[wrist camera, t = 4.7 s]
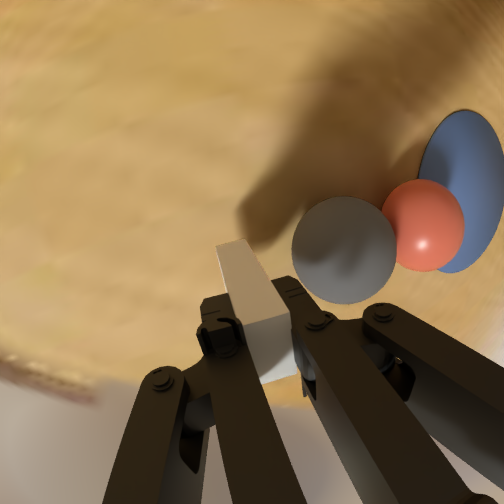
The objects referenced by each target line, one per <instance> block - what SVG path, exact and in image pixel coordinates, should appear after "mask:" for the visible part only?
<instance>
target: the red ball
mask: <svg viewBox="0 0 504 504" xmlns="http://www.w3.org/2000/svg"><path fill="white" fill-rule="evenodd" d="M381 212H382V213H383V214H384V216H385V217H386V218H387V220H388V221H389V223H390V224H391V227H392V229H393V231H394V234H395V238H396V244H397V257H396V262H398V263H399V264H400V265H402V266H403V267H405V268H408V269H410V270H413V271H419V272H427V271H433V270H436V269H439V268H441V267H443V266H444V265H446V264H447V263H448V262H450V261H451V260H452V259H453V258H454V256H455V255H456V254H457V252H458V251H459V249H460V247H461V244H462V241H463V238H464V231H465V222H464V216H463V212H462V209H461V206H460V204H459V202H458V201H457V199H456V198H455V196H454V195H453V194H452V193H451V192H450V191H449V190H448V189H447V188H446V187H444V186H443V185H441V184H439V183H437V182H434V181H431V180H427V179H415V180H410V181H407V182H405V183H403V184H401V185H399V186H398V187H397V188H395V189H394V190H393V191H392V192H391V193H390V194H389V196H388V197H387V199H386V201H385V202H384V205H383V207H382V210H381Z"/></svg>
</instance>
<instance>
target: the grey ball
mask: <svg viewBox="0 0 504 504" xmlns="http://www.w3.org/2000/svg"><path fill="white" fill-rule="evenodd" d="M396 257H397V244H396V238H395V234H394V231H393V229H392V227H391V224H390V223H389V221H388V220H387V218H386V217H385V216H384V214H383V213H382V212H381V211H380V210H379V209H378V208H376V207H375V206H374V205H372V204H371V203H369V202H367V201H365V200H362V199H359V198H355V197H349V196H339V197H333V198H329V199H326V200H324V201H322V202H320V203H318V204H316V205H315V206H313V207H312V208H311V209H310V210H309V211H308V212H307V213H306V214H305V215H304V216H303V217H302V219H301V220H300V222H299V223H298V225H297V228H296V230H295V232H294V236H293V240H292V260H293V265H294V268H295V271H296V273H297V275H298V277H299V279H300V280H301V282H302V283H303V284H304V286H305V287H306V288H307V289H308V290H309V291H310V292H312V293H313V294H314V295H316V296H317V297H319V298H321V299H323V300H325V301H328V302H331V303H335V304H353V303H357V302H361V301H364V300H366V299H368V298H370V297H371V296H373V295H374V294H376V293H377V292H378V291H379V290H380V289H382V287H383V286H384V285H385V284H386V282H387V281H388V279H389V278H390V276H391V274H392V272H393V269H394V266H395V263H396Z"/></svg>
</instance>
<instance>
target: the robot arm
mask: <svg viewBox="0 0 504 504" xmlns="http://www.w3.org/2000/svg"><path fill="white" fill-rule="evenodd" d="M215 249H216V253H217V257H218V261H219V265H220V269H221V273H222V277H223V281H224V285H225V289H226V293H225V294H221V295H217V296H213V297H209V298H205V299H204V300H203V302H202V304H201V306H200V311H201V319H202V324H201V325H200V326H199V327H198V329H197V333H196V336H197V338H198V341H199V344H200V346H201V349H202V352H203V354H204V356H203V357H202V358H201V360H200V361H199V362H198V363H196V364H195V365H193V366H192V367H190V368H188V369H186V370H184V371H182V372H181V370H180V369H178V368H176V367H172V366H164V367H159V368H157V369H155V370H152V371H151V372H150V373H149V374H147V375H146V376H145V378H144V379H143V381H142V383H141V386H140V389H139V391H138V394H137V397H136V400H135V403H134V405H133V408H132V411H131V414H130V417H129V420H128V423H127V426H126V428H125V431H124V434H123V437H122V441H121V444H120V446H119V450H118V453H117V456H116V459H115V462H114V465H113V468H112V472H111V475H110V479H109V482H108V485H107V489H106V492H105V496H104V499H103V503H102V504H201V498H202V489H203V481H204V472H205V464H206V456H207V448H208V440H209V432H210V427H212V426H214V425H215V424H216V429H217V434H218V439H219V444H220V449H221V454H222V459H223V464H224V468H225V473H226V477H227V481H228V486H229V490H230V494H231V498H232V502H233V504H307V502H306V499H305V497H304V495H303V492H302V490H301V487H300V485H299V482H298V480H297V477H296V475H295V472H294V470H293V467H292V465H291V462H290V460H289V457H288V454H287V452H286V449H285V447H284V444H283V441H282V439H281V436H280V433H279V431H278V428H277V426H276V423H275V420H274V418H273V415H272V412H271V409H270V407H269V404H268V401H267V398H266V396H265V393H264V390H263V387H262V385H261V384H264V383H268V382H271V381H275V380H278V379H281V378H284V377H288V376H291V375H294V374H297V367H298V368H299V370H300V372H301V380H302V390H303V397H306V396H307V394H308V396H309V398H310V400H311V402H312V404H313V406H314V408H315V410H316V412H317V414H318V416H319V418H320V420H321V422H322V424H323V426H324V428H325V430H326V432H327V434H328V436H329V438H330V440H331V442H332V444H333V446H334V448H335V450H336V452H337V454H338V456H339V458H340V460H341V462H342V464H343V466H344V468H345V470H346V471H347V473H348V475H349V477H350V479H351V481H352V483H353V485H354V487H355V489H356V491H357V493H358V495H359V497H360V499H361V500H362V502H363V504H498V503H497V502H496V501H495V500H494V499H493V498H491V497H489V496H487V495H484V494H476V493H474V492H472V491H471V490H470V489H469V488H468V487H467V486H466V484H465V483H464V482H463V480H462V479H461V477H460V476H459V475H458V473H457V472H456V471H455V469H454V468H453V467H452V465H451V464H450V462H449V461H448V460H447V458H446V457H445V456H444V454H443V453H442V452H441V450H440V449H439V447H438V446H437V445H436V444H435V442H434V441H433V439H432V438H431V437H430V435H431V436H432V437H433V438H435V439H436V440H437V441H438V442H440V443H441V444H442V445H444V446H445V447H446V448H447V449H449V450H450V451H451V452H453V453H454V454H455V455H456V456H458V457H459V458H461V459H462V460H463V461H464V462H466V463H467V464H468V465H470V466H471V467H472V468H474V469H475V470H476V471H478V472H479V473H480V474H482V475H483V476H484V477H486V478H487V479H489V480H490V481H491V482H493V483H494V484H496V485H497V486H498V487H500V488H501V489H502V490H504V368H503V367H501V366H500V365H498V364H496V363H495V362H493V361H491V360H490V359H488V358H486V357H485V356H483V355H481V354H480V353H478V352H476V351H474V350H473V349H471V348H469V347H468V346H466V345H464V344H462V343H461V342H459V341H457V340H456V339H454V338H452V337H450V336H449V335H447V334H445V333H443V332H442V331H440V330H438V329H436V328H435V327H433V326H431V325H429V324H428V323H426V322H424V321H422V320H421V319H419V318H417V317H415V316H414V315H412V314H410V313H408V312H406V311H405V310H403V309H401V308H399V307H398V306H395V305H393V304H390V303H375V304H373V305H370V306H368V307H367V308H366V309H365V310H364V312H363V316H362V318H359V319H351V320H339V319H338V318H337V317H336V316H335V315H333V314H332V313H330V312H327V311H322V310H321V309H320V308H319V306H318V305H317V304H316V303H315V301H314V300H313V299H312V297H311V296H310V295H309V294H308V293H307V291H306V290H305V289H304V288H303V286H302V285H301V283H300V282H299V281H298V280H297V279H295V278H293V277H291V276H285V277H281V278H278V279H274V280H270V279H269V277H268V276H267V274H266V272H265V271H264V269H263V267H262V266H261V264H260V262H259V261H258V259H257V258H256V256H255V254H254V253H253V251H252V249H251V248H250V246H249V244H248V243H247V241H246V240H245V239H241V240H237V241H233V242H229V243H225V244H221V245H217V246H215ZM396 357H397V358H396ZM398 358H399V359H400V360H399V359H398ZM401 360H402V361H401ZM296 365H297V367H296ZM306 392H307V394H306Z"/></svg>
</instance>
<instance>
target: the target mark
mask: <svg viewBox="0 0 504 504" xmlns="http://www.w3.org/2000/svg"><path fill="white" fill-rule="evenodd" d="M418 179H427V180H431V181H434V182H437V183H439V184H441V185H443V186H444V187H446V188H447V189H448V190H449V191H450V192H451V193H452V194H453V195H454V196H455V198H456V199H457V201H458V202H459V204H460V206H461V209H462V212H463V216H464V222H465V231H464V238H463V241H462V244H461V247H460V249H459V251H458V252H457V254H456V255H455V256H454V258H453V259H452V260H451V261H450V262H448V263H447V264H446V265H444V266H443V267H441V268H439V269H438V270H439V271H441V272H445V273H455V272H459V271H462V270H464V269H466V268H467V267H469V266H470V265H471V264H473V263H474V262H475V261H476V260H477V259H478V258H479V257H480V256H481V255H482V253H483V252H484V251H485V249H486V248H487V246H488V245H489V243H490V241H491V240H492V238H493V236H494V234H495V232H496V229H497V227H498V224H499V221H500V218H501V215H502V211H503V206H504V155H503V151H502V147H501V144H500V142H499V139H498V137H497V135H496V133H495V131H494V129H493V128H492V127H491V125H490V124H489V123H488V122H487V121H486V120H485V119H484V118H483V117H482V116H480V115H479V114H477V113H475V112H471V111H459V112H455V113H453V114H451V115H450V116H448V117H447V118H446V119H445V120H443V121H442V123H441V124H440V125H439V126H438V127H437V129H436V130H435V132H434V133H433V135H432V137H431V139H430V141H429V143H428V145H427V147H426V150H425V153H424V156H423V159H422V162H421V166H420V170H419V175H418Z"/></svg>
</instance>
